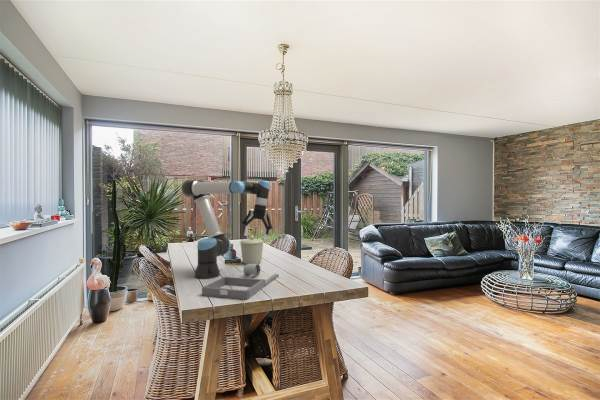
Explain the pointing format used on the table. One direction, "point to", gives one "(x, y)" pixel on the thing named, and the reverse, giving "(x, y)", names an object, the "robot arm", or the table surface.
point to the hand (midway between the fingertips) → (254, 237)
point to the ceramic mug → (251, 270)
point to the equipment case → (239, 279)
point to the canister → (251, 250)
